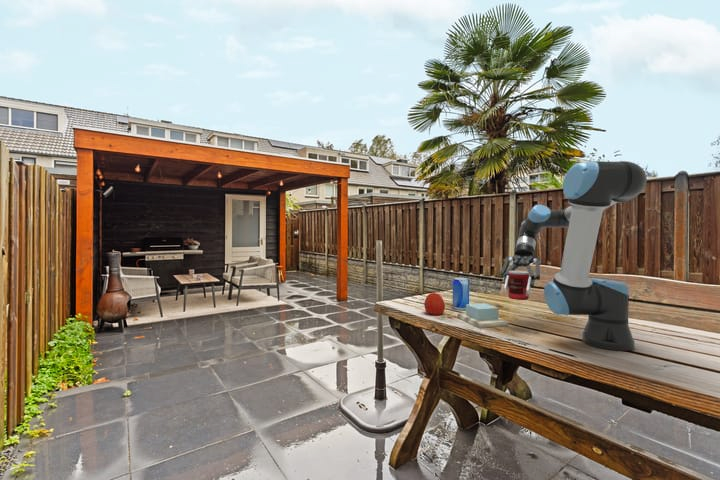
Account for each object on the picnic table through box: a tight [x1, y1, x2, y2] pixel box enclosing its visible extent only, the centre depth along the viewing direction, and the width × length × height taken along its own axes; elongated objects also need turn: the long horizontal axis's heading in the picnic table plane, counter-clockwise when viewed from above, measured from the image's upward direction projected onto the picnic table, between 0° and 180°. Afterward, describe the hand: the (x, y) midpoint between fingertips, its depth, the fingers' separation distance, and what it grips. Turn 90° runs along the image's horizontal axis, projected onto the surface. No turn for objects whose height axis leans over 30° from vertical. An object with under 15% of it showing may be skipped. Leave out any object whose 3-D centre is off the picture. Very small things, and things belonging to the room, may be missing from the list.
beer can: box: [452, 277, 470, 311], centre depth 177 cm, size 8×8×16 cm
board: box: [457, 312, 509, 329], centre depth 152 cm, size 18×14×2 cm
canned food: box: [507, 270, 530, 301], centre depth 138 cm, size 8×8×11 cm
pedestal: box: [465, 303, 500, 321], centre depth 152 cm, size 10×10×5 cm
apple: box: [423, 292, 446, 316], centre depth 167 cm, size 10×10×10 cm
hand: (516, 290), depth 136 cm, fingers closed on canned food, 8 cm apart
